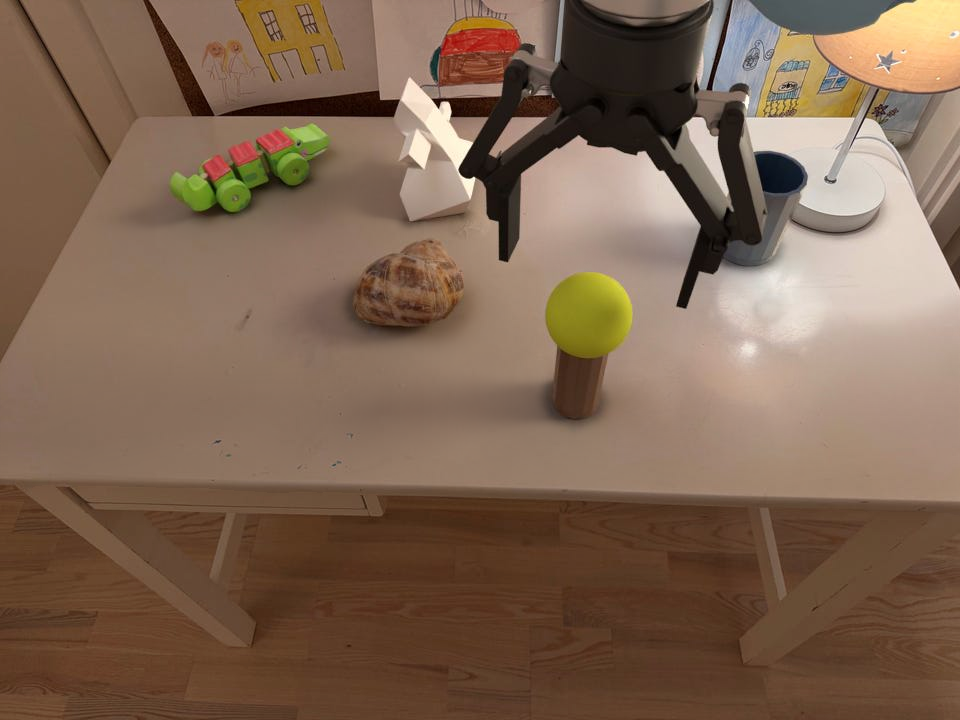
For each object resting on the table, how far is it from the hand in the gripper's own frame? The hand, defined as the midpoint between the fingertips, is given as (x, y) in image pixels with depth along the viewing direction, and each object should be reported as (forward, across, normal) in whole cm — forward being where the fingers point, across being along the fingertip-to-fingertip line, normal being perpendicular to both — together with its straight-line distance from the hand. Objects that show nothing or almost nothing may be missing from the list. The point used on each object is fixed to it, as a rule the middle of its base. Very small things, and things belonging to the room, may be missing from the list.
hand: (594, 271), depth 53 cm
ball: (+5, 0, 0) cm, 5 cm away
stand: (+18, 0, 0) cm, 18 cm away
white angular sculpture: (+18, +23, -23) cm, 38 cm away
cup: (+18, -12, -26) cm, 34 cm away
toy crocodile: (+19, +45, -17) cm, 52 cm away
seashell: (+18, +20, -5) cm, 27 cm away
